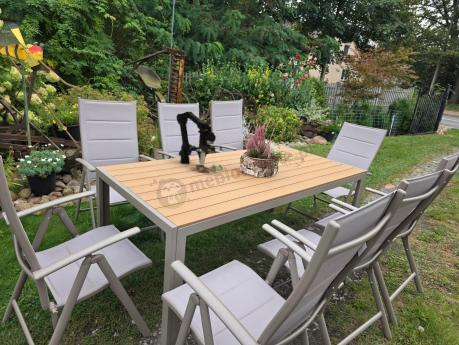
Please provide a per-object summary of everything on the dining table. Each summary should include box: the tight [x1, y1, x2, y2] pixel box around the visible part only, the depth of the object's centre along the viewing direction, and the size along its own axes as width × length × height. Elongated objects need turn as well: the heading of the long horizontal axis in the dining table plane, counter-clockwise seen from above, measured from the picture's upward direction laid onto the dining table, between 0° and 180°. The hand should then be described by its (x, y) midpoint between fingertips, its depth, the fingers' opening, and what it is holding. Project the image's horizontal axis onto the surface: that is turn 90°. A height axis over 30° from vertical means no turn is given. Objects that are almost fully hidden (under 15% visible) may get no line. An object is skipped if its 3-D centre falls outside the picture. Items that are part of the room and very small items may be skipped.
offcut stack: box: [197, 168, 210, 174], centre depth 221 cm, size 8×3×2 cm, turn 102°
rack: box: [195, 164, 207, 171], centre depth 228 cm, size 6×11×2 cm, turn 18°
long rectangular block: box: [198, 150, 206, 166], centre depth 225 cm, size 3×6×9 cm, turn 18°
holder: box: [210, 163, 225, 171], centre depth 232 cm, size 8×9×3 cm
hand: (201, 159), depth 226 cm, fingers closed on long rectangular block, 3 cm apart
